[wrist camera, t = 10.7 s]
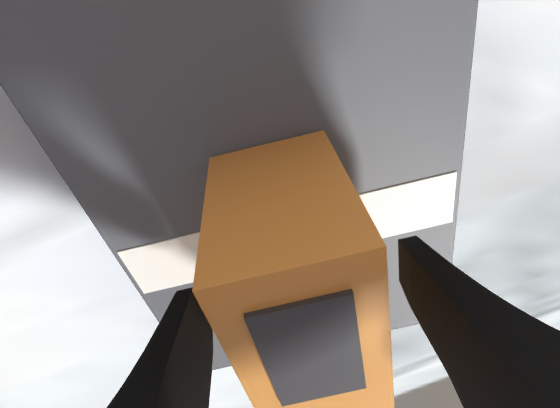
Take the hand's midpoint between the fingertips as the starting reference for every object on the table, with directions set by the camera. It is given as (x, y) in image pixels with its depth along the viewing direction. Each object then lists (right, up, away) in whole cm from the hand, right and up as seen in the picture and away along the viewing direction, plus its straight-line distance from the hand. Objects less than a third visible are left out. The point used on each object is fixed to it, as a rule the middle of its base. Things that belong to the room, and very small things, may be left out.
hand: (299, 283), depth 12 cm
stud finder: (0, +2, +2) cm, 3 cm away
